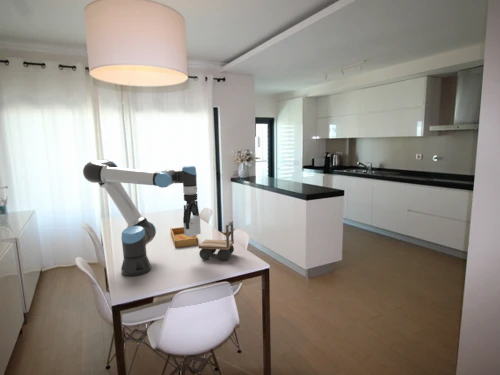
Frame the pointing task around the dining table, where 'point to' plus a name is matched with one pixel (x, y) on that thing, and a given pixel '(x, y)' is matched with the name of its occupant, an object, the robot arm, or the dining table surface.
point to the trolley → (218, 246)
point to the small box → (193, 226)
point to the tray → (182, 238)
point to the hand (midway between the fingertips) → (192, 231)
